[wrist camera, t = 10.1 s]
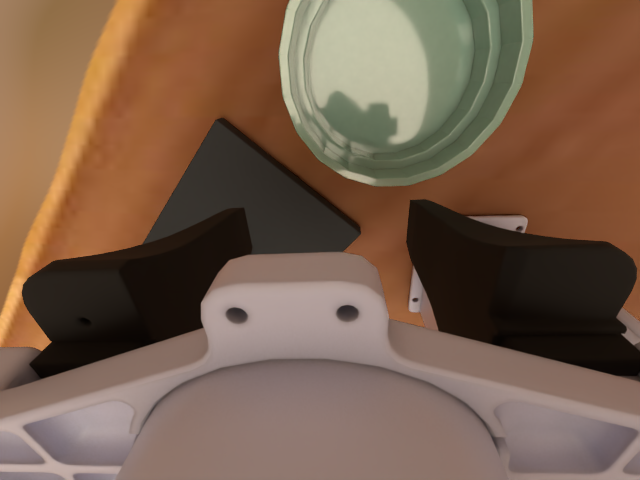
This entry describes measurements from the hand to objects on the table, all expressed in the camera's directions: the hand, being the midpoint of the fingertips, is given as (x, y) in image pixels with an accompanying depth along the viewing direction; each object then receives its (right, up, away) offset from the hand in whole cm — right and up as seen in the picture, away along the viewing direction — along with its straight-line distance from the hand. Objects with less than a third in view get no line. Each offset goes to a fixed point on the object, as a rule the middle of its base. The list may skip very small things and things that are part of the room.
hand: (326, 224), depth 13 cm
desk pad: (-8, -2, +13) cm, 16 cm away
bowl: (+4, +10, +6) cm, 12 cm away
